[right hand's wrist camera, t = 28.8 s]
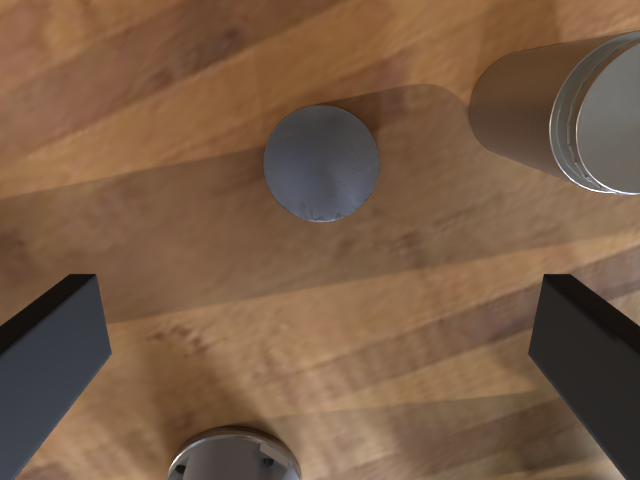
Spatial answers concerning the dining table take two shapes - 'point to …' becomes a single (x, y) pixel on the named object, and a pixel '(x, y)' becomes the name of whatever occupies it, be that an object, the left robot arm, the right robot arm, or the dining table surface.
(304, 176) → the lid
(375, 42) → the dining table surface
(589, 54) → the jar
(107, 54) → the dining table surface
